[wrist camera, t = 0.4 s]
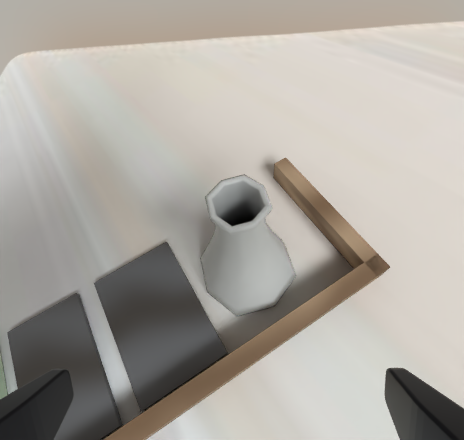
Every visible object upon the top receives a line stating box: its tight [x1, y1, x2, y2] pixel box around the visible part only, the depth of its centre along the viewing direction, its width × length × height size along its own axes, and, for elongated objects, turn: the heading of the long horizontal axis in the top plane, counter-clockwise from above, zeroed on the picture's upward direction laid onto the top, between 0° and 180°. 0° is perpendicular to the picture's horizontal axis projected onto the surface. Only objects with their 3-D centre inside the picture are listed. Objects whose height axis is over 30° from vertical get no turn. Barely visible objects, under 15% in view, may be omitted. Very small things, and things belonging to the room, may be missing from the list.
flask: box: [201, 174, 296, 316], centre depth 19 cm, size 7×7×10 cm
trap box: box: [7, 158, 390, 440], centre depth 20 cm, size 12×38×2 cm, turn 121°
